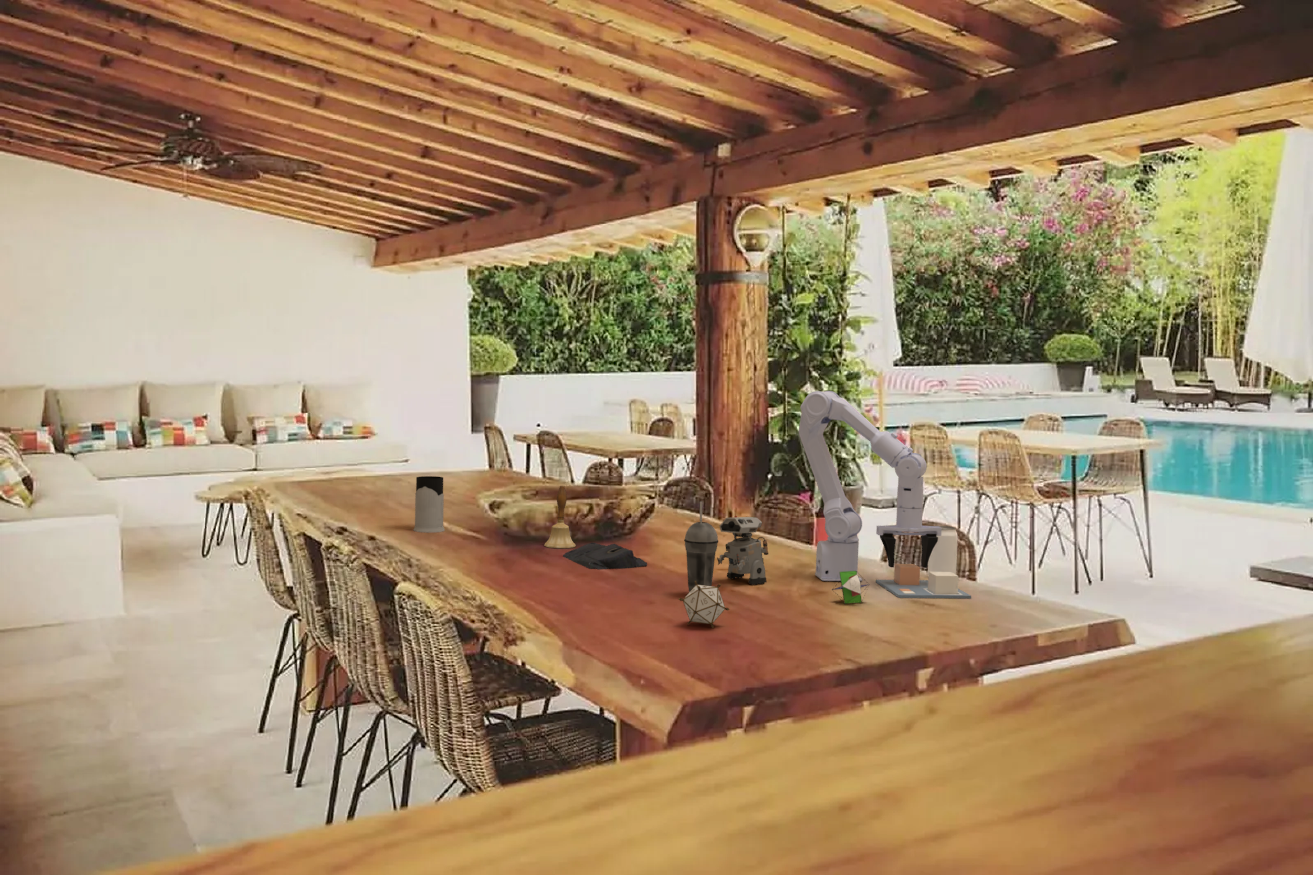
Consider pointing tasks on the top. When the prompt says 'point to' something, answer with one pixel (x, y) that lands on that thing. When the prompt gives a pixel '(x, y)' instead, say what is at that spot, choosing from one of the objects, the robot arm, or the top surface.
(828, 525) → the robot arm
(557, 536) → the hand bell
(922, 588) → the board
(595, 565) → the dark slate chunk
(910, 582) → the terracotta block
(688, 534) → the beverage cup
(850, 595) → the geometric puzzle
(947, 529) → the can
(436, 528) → the glass holder
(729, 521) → the figurine
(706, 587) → the game die
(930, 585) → the base block
